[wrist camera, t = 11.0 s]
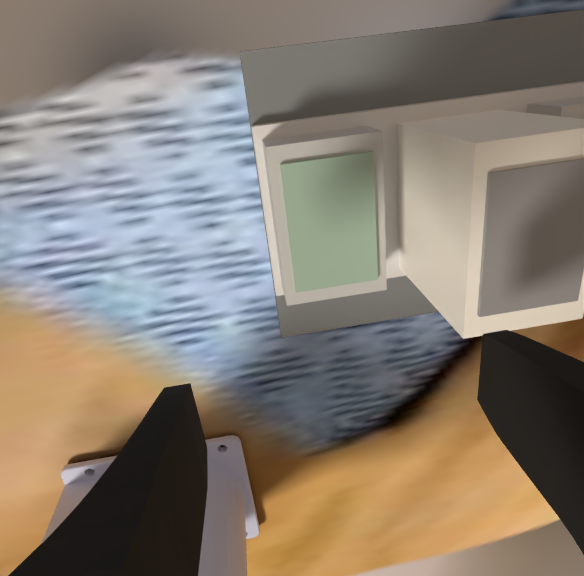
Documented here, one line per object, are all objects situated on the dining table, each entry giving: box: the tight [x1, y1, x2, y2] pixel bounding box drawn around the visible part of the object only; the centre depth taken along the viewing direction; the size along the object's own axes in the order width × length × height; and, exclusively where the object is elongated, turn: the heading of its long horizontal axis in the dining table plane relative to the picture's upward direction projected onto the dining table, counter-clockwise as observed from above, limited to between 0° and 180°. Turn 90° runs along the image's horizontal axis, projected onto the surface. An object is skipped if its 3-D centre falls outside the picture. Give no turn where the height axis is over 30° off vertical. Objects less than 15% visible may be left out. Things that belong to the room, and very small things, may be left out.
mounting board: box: [240, 9, 584, 338], centre depth 18 cm, size 15×12×4 cm
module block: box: [397, 110, 584, 339], centre depth 16 cm, size 4×6×6 cm, turn 7°
